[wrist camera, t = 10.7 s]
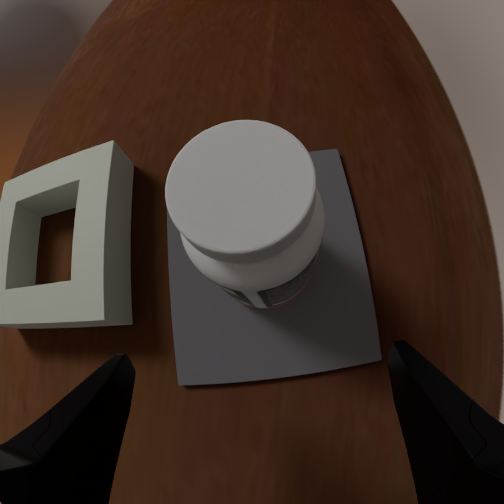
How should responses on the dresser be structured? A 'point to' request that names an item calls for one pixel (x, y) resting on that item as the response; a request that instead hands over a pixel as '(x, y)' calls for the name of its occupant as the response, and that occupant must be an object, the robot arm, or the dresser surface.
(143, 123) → the dresser surface
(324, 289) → the charcoal mat
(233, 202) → the pill bottle
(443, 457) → the robot arm
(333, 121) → the dresser surface
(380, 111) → the dresser surface
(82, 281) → the socket block
